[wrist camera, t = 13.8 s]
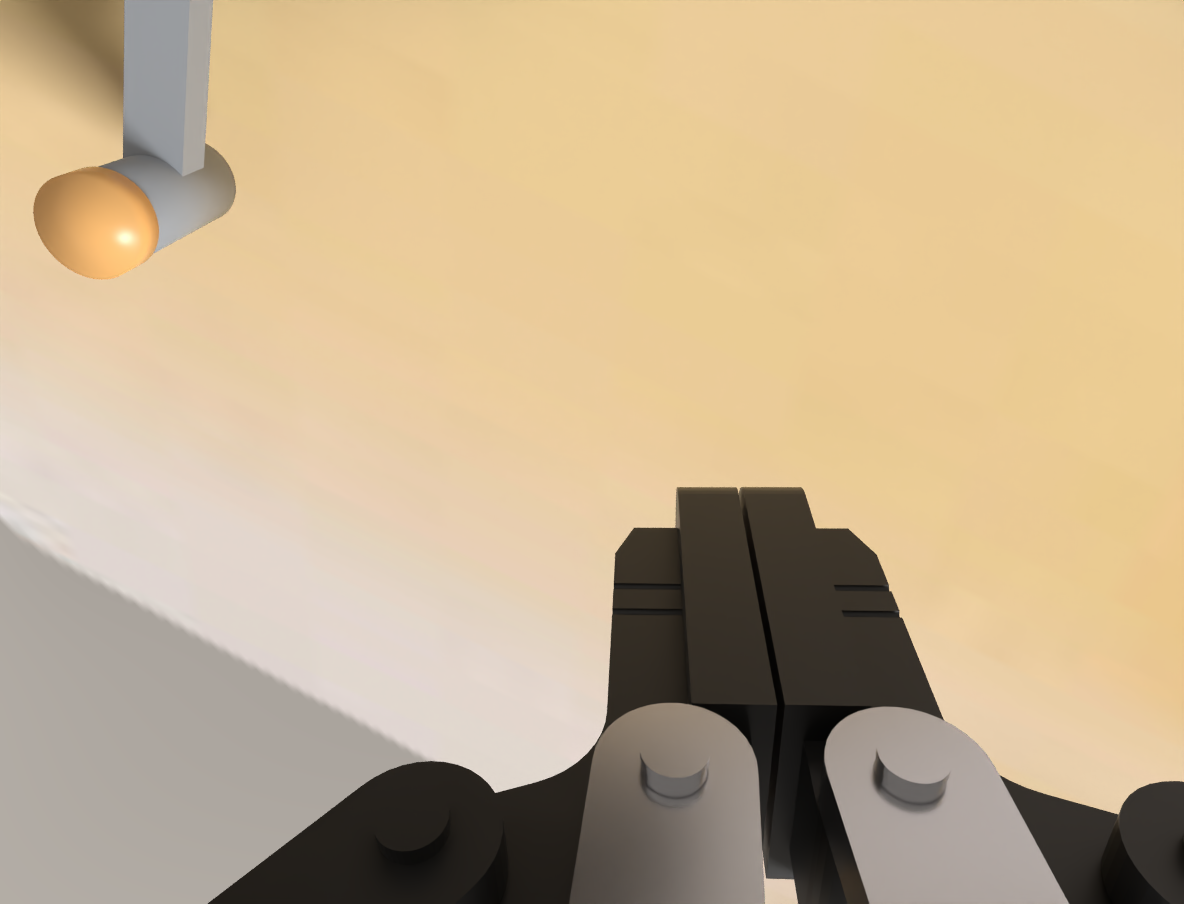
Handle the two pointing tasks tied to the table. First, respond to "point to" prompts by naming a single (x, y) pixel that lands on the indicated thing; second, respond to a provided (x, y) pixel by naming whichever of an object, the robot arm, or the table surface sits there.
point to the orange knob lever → (145, 152)
